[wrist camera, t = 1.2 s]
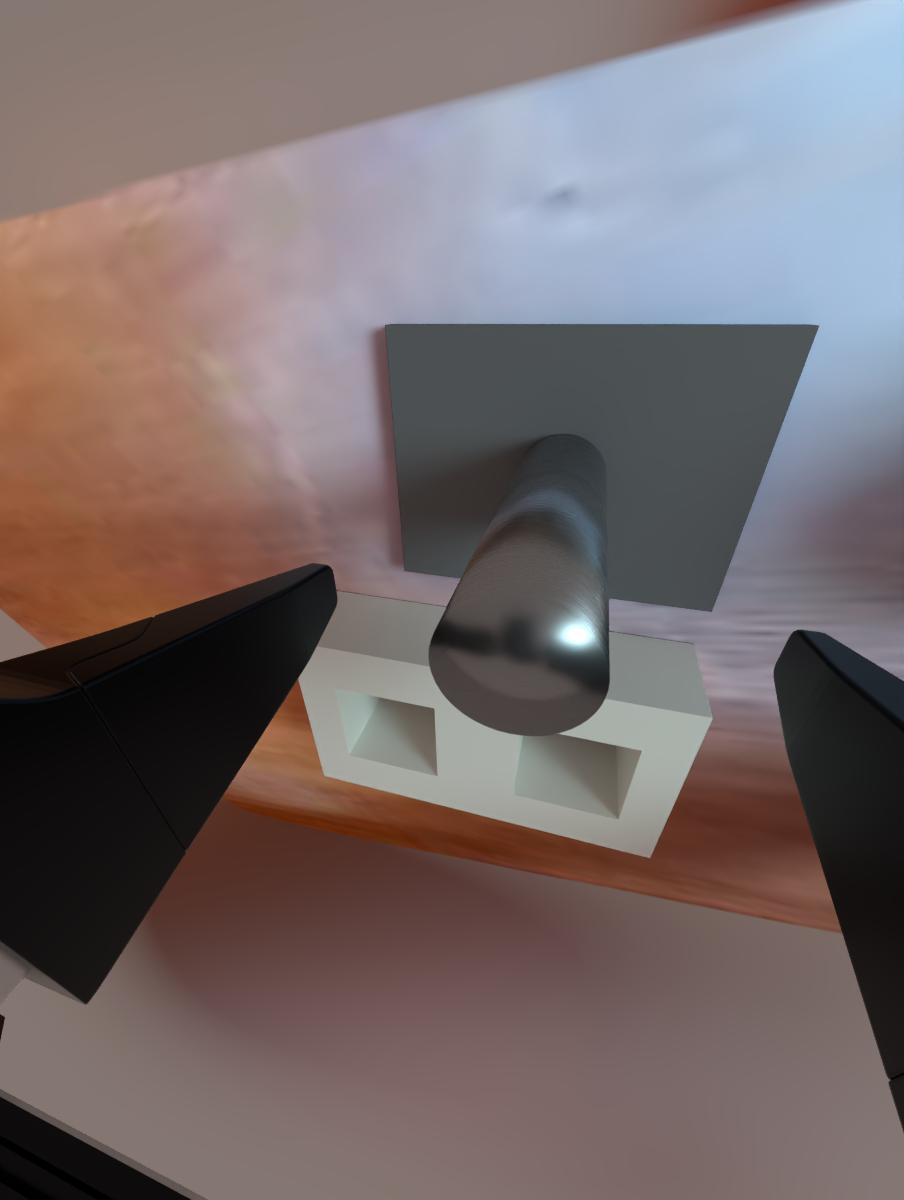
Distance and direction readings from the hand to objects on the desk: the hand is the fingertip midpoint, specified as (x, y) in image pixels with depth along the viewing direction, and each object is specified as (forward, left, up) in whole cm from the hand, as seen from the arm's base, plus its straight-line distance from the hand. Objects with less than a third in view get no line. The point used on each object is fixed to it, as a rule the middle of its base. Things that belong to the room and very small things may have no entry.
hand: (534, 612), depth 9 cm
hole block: (+2, +11, -9) cm, 14 cm away
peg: (0, 0, -8) cm, 8 cm away
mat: (0, 0, -9) cm, 9 cm away
